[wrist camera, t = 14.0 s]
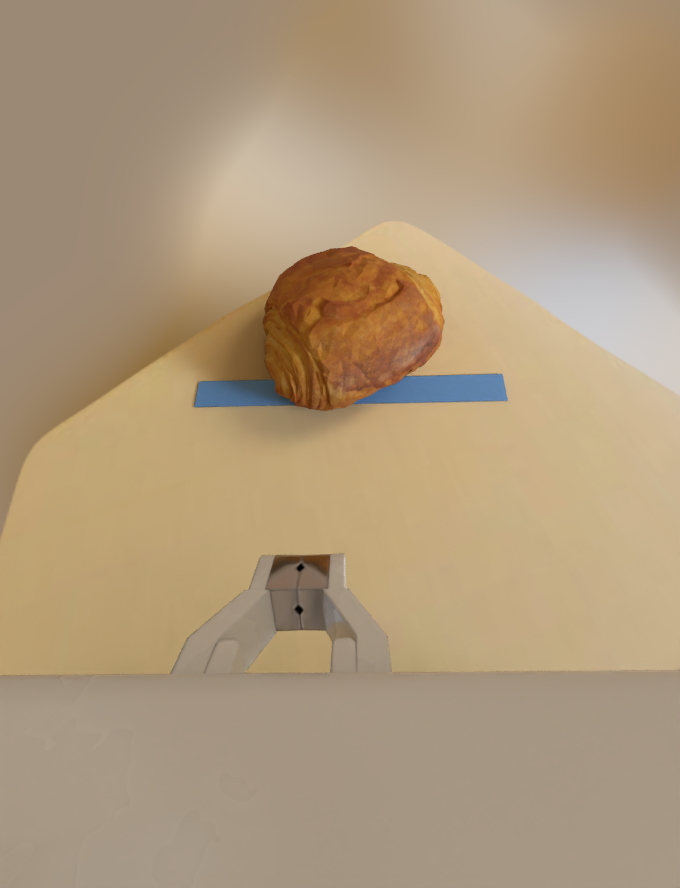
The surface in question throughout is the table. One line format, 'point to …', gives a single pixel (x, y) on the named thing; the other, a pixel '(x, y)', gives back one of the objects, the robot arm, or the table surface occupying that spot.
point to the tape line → (401, 392)
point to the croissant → (348, 327)
